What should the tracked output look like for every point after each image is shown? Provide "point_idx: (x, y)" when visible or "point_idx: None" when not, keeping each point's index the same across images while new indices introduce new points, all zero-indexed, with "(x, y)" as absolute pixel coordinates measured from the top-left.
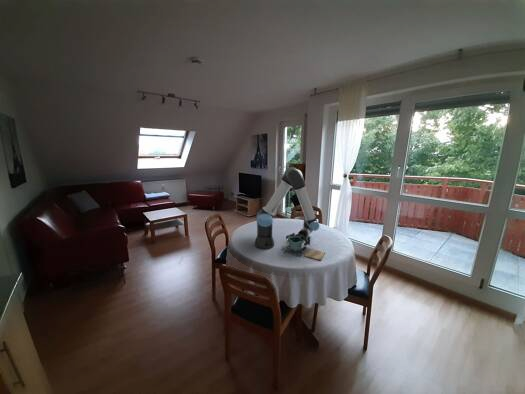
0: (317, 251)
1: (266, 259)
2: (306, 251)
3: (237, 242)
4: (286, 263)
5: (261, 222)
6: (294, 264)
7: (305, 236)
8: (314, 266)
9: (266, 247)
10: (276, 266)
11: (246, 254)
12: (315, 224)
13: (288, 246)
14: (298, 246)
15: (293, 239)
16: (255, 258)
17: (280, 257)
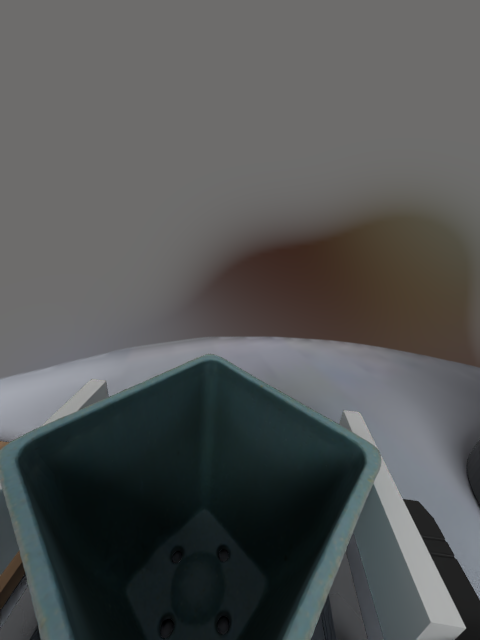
0: None
1: (337, 360)
2: (4, 585)
3: None
4: (227, 358)
5: None
6: (183, 360)
7: None
8: (53, 370)
9: (478, 441)
10: (262, 337)
11: (454, 368)
12: None
13: (333, 599)
14: (151, 448)
15: (293, 609)
16: (384, 355)
17: (286, 391)
